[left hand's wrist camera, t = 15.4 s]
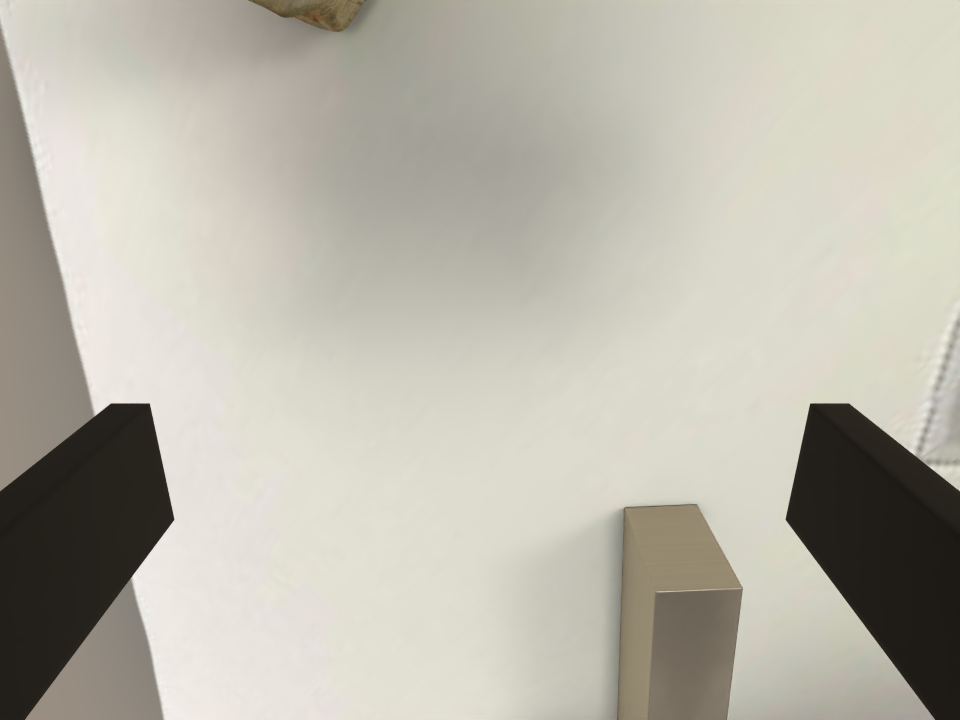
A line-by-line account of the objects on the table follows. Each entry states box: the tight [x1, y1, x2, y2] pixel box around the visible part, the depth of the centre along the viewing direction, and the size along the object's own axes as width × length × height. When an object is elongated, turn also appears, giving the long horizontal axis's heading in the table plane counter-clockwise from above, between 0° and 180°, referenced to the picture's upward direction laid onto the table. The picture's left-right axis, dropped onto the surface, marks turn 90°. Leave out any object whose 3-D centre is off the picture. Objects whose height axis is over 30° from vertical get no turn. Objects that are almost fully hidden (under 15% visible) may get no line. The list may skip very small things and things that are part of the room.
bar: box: [618, 505, 743, 720], centre depth 45 cm, size 25×5×8 cm, turn 3°
